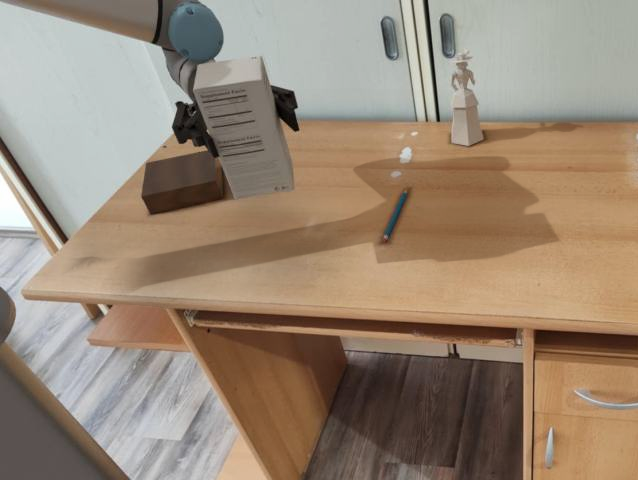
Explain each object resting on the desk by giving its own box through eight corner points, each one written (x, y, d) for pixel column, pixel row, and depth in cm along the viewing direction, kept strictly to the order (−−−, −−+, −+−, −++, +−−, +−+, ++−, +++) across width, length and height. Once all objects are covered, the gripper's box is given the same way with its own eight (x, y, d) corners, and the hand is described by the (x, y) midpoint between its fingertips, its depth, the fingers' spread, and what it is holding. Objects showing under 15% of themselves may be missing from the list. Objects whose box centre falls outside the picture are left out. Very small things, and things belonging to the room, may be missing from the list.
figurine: (479, 127, 129) (474, 40, 116) (486, 144, 124) (482, 54, 111) (448, 131, 129) (440, 45, 116) (453, 148, 123) (445, 59, 110)
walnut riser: (150, 214, 114) (140, 196, 111) (154, 180, 123) (145, 162, 121) (223, 198, 116) (215, 180, 113) (221, 165, 126) (214, 148, 123)
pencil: (382, 243, 102) (381, 240, 101) (405, 190, 113) (404, 187, 113) (386, 243, 102) (385, 240, 101) (409, 190, 113) (408, 187, 113)
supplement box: (236, 171, 94) (195, 63, 82) (293, 161, 95) (262, 53, 83) (234, 202, 88) (190, 88, 76) (295, 191, 89) (262, 77, 77)
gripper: (284, 91, 103) (336, 134, 90) (147, 131, 95) (182, 186, 81) (272, 45, 98) (325, 85, 84) (125, 85, 89) (159, 135, 76)
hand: (255, 135), depth 83 cm, fingers closed on supplement box, 11 cm apart
